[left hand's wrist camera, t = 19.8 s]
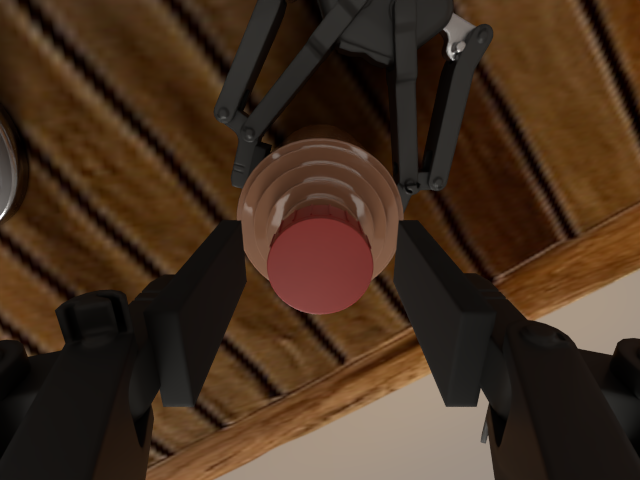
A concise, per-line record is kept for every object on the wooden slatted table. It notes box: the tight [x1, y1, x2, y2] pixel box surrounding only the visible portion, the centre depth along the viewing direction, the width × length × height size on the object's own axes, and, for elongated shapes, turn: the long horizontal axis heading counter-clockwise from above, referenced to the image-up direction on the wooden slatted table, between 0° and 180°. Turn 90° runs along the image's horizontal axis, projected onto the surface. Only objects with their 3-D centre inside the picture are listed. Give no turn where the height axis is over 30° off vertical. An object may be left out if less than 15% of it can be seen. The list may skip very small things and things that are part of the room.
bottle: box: [237, 124, 404, 280], centre depth 22 cm, size 8×8×18 cm
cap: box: [267, 204, 374, 314], centre depth 13 cm, size 4×4×2 cm
